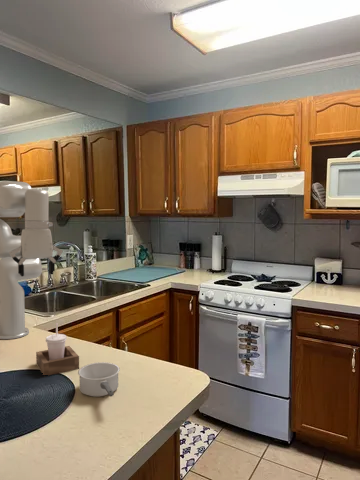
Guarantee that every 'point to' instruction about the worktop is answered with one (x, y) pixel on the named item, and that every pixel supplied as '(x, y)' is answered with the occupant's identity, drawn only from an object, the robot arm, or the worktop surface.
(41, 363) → the wooden frame
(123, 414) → the worktop surface
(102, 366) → the saucepan
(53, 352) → the smoothie
